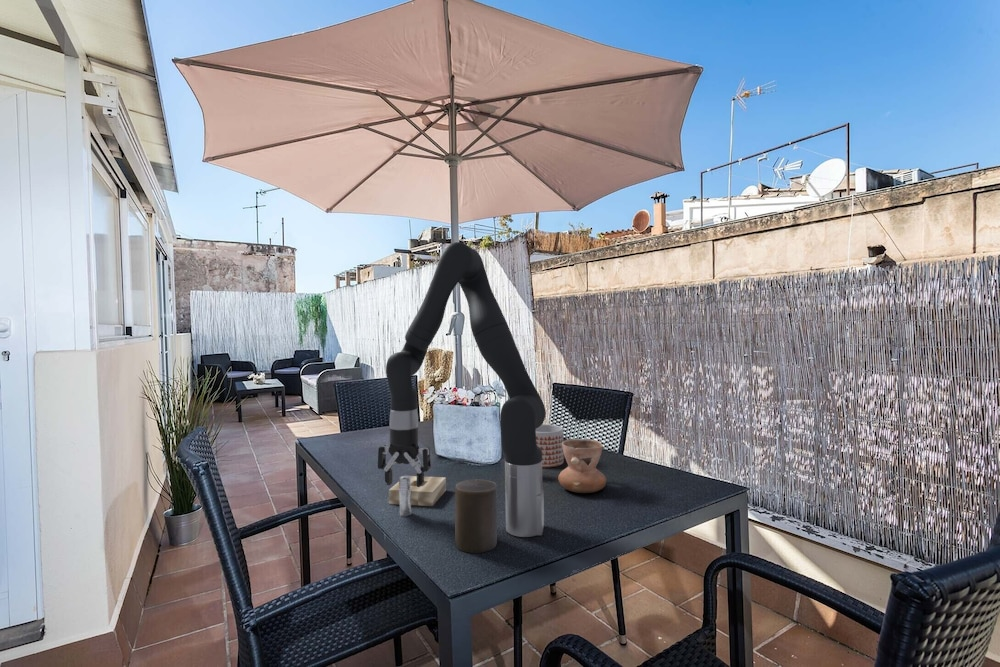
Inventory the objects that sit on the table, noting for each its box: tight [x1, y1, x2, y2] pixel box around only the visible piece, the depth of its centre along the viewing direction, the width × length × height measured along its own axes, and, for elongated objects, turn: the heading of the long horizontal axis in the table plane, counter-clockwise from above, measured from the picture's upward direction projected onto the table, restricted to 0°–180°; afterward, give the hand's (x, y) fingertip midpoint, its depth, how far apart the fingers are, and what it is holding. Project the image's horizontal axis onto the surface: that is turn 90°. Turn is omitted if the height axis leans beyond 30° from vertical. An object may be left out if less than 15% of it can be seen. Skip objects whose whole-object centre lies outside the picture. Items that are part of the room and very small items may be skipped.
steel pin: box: [398, 475, 412, 517], centre depth 129 cm, size 3×3×10 cm
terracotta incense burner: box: [557, 438, 607, 494], centre depth 147 cm, size 18×14×14 cm
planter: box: [536, 423, 565, 469], centre depth 175 cm, size 14×14×13 cm
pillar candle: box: [454, 478, 498, 554], centre depth 111 cm, size 10×10×15 cm
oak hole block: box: [388, 475, 447, 507], centre depth 142 cm, size 13×13×4 cm
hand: (404, 485), depth 129 cm, fingers open, 8 cm apart
